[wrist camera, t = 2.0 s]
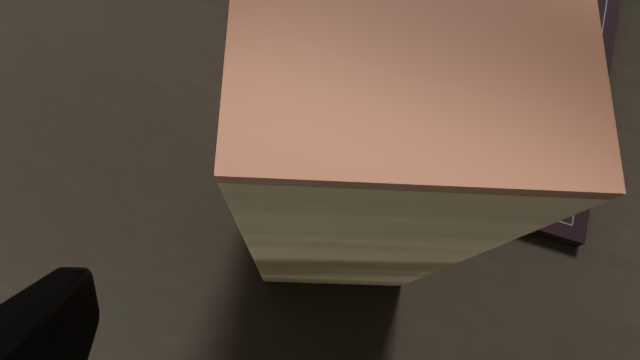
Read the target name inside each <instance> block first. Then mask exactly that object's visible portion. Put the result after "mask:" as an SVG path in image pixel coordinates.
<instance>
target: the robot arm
mask: <svg viewBox="0 0 640 360" xmlns="http://www.w3.org/2000/svg"><path fill="white" fill-rule="evenodd" d="M98 323H99V306H98V301H97V296H96V290H95V285H94V280H93V276H92V273H91V271H90V270H89V269H87V268H83V267H60V268H58V269H56V270H54V271H52V272H51V273H49V274H48V275H46V276H44V277H43V278H41V279H40V280H38V281H37V282H35V283H33V284H32V285H30V286H29V287H27V288H25V289H24V290H22V291H21V292H19V293H17V294H16V295H14V296H13V297H11V298H9V299H8V300H6V301H5V302H3V303H1V304H0V360H88V357H89V353H90V350H91V347H92V344H93V340H94V337H95V334H96V330H97V327H98Z"/></svg>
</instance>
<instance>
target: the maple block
mask: <svg viewBox="0 0 640 360" xmlns="http://www.w3.org/2000/svg"><path fill="white" fill-rule="evenodd" d="M214 177H215V179H216V181H217V183H218V186H219V188H220V190H221V192H222V194H223V196H224V198H225V200H226V203H227V205H228V207H229V209H230V211H231V213H232V215H233V218H234V220H235V222H236V224H237V226H238V228H239V230H240V232H241V235H242V237H243V239H244V241H245V243H246V245H247V247H248V249H249V252H250V254H251V256H252V258H253V260H254V262H255V264H256V266H257V269H258V271H259V273H260V275H261V277H262V279H263V281H267V282H297V283H327V284H358V285H388V286H402V285H405V284H407V283H410V282H412V281H414V280H417V279H419V278H422V277H424V276H427V275H429V274H432V273H434V272H436V271H439V270H441V269H444V268H446V267H449V266H451V265H453V264H456V263H458V262H461V261H463V260H466V259H468V258H470V257H473V256H475V255H478V254H480V253H483V252H485V251H488V250H490V249H492V248H495V247H497V246H500V245H502V244H505V243H507V242H509V241H512V240H514V239H517V238H519V237H522V236H524V235H526V234H529V233H531V232H534V231H536V230H539V229H541V228H544V227H546V226H548V225H551V224H553V223H556V222H558V221H561V220H563V219H565V218H568V217H570V216H573V215H575V214H578V213H580V212H582V211H585V210H587V209H590V208H592V207H595V206H597V205H599V204H602V203H604V202H607V201H609V200H612V199H614V198H617V197H619V196H621V195H624V194H626V191H625V184H624V177H623V171H622V164H621V157H620V150H619V144H618V137H617V130H616V123H615V117H614V110H613V103H612V97H611V90H610V83H609V76H608V70H607V63H606V56H605V49H604V43H603V36H602V29H601V22H600V16H599V9H598V2H597V0H230V3H229V14H228V25H227V36H226V47H225V58H224V70H223V81H222V92H221V103H220V114H219V125H218V136H217V147H216V158H215V169H214Z"/></svg>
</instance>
